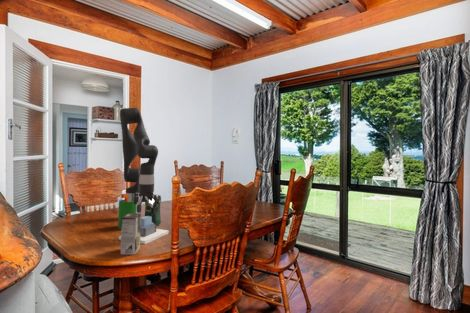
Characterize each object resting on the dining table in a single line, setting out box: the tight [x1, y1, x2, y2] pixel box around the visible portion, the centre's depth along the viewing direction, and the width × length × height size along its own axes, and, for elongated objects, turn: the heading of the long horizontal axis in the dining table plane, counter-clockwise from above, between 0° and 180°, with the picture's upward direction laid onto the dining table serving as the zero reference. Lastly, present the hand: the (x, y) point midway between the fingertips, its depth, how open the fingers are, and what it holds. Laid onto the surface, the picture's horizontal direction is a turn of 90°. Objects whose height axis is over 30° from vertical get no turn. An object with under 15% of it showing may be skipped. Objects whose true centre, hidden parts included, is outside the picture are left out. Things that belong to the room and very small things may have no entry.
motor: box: [117, 193, 136, 230], centre depth 159 cm, size 10×9×20 cm
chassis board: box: [118, 224, 169, 245], centre depth 144 cm, size 20×16×6 cm
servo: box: [141, 215, 154, 229], centre depth 144 cm, size 10×4×8 cm, turn 160°
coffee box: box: [120, 213, 142, 255], centre depth 123 cm, size 9×6×16 cm
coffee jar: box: [144, 194, 162, 227], centre depth 168 cm, size 10×8×19 cm
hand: (145, 213), depth 144 cm, fingers open, 8 cm apart
